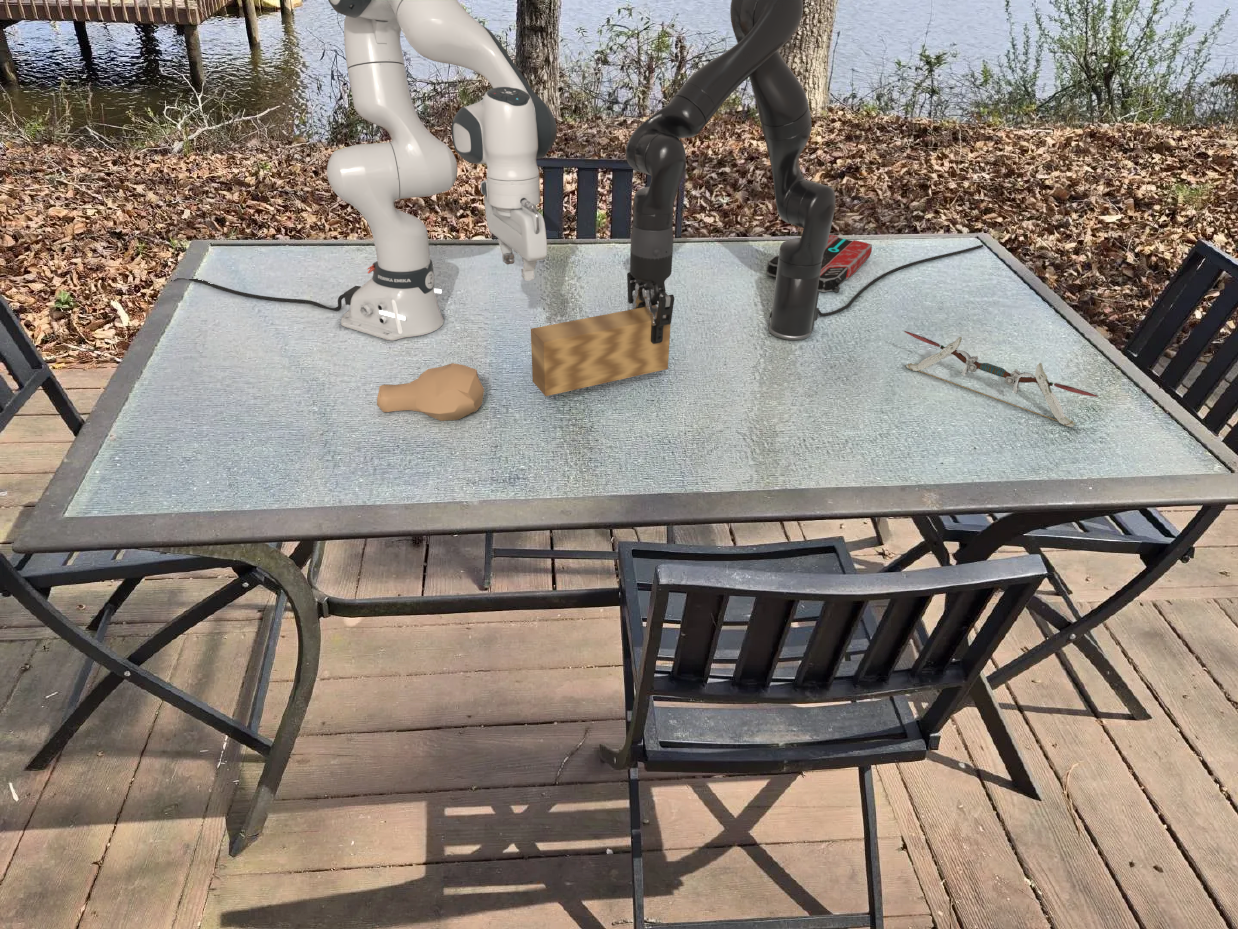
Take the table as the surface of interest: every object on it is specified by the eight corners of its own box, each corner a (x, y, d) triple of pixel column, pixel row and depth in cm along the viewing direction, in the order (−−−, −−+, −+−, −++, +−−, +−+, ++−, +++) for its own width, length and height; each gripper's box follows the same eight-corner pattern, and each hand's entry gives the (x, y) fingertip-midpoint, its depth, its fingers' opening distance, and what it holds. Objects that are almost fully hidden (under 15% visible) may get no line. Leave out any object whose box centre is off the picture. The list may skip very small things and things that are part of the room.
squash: (485, 427, 160) (474, 388, 154) (378, 435, 161) (363, 397, 155) (491, 389, 168) (481, 351, 162) (390, 398, 169) (376, 360, 163)
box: (545, 396, 157) (543, 342, 151) (532, 381, 162) (530, 328, 156) (668, 368, 167) (671, 317, 161) (652, 355, 172) (655, 304, 166)
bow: (1087, 429, 164) (1105, 382, 158) (1083, 433, 163) (1101, 385, 157) (899, 362, 185) (909, 318, 180) (895, 365, 184) (904, 321, 179)
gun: (763, 262, 220) (837, 280, 212) (808, 226, 242) (876, 242, 234) (761, 279, 222) (834, 298, 214) (805, 242, 244) (873, 258, 236)
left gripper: (555, 204, 142) (557, 286, 150) (510, 177, 158) (514, 252, 165) (519, 209, 140) (523, 292, 147) (476, 180, 155) (482, 256, 163)
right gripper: (690, 259, 152) (684, 347, 161) (650, 233, 162) (647, 317, 172) (652, 266, 149) (648, 354, 158) (614, 239, 159) (613, 323, 169)
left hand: (518, 270), depth 156 cm, fingers open, 8 cm apart
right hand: (647, 334), depth 165 cm, fingers closed on box, 6 cm apart
